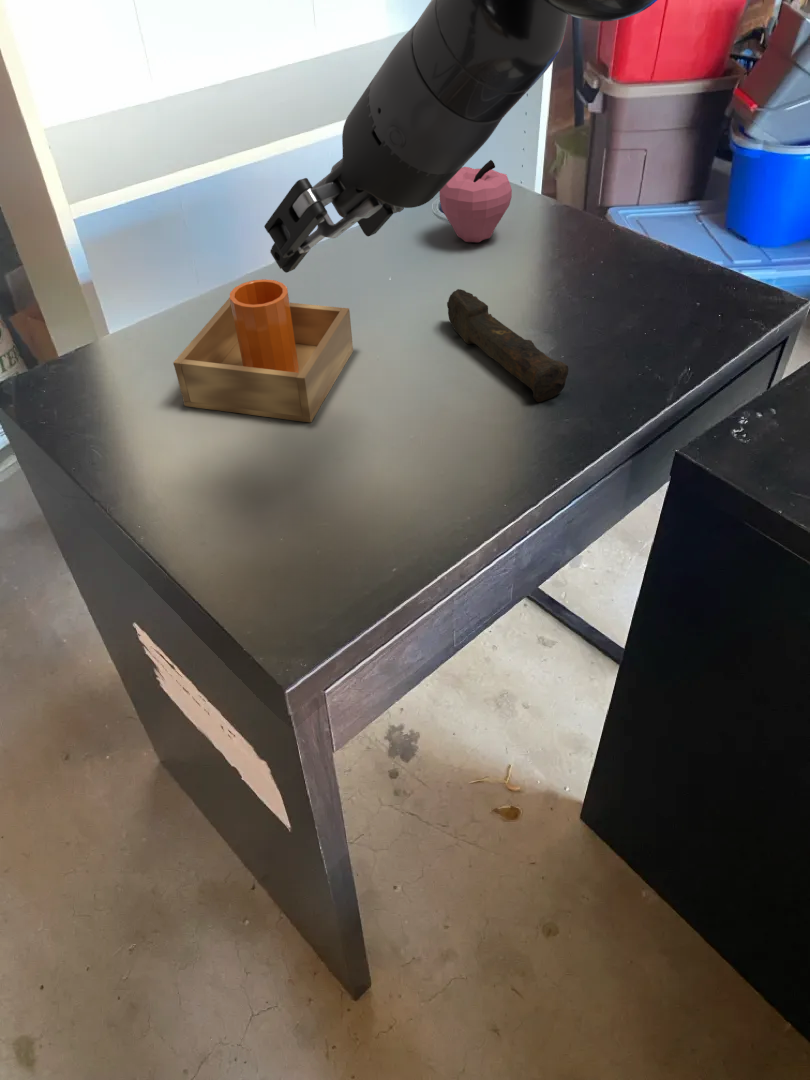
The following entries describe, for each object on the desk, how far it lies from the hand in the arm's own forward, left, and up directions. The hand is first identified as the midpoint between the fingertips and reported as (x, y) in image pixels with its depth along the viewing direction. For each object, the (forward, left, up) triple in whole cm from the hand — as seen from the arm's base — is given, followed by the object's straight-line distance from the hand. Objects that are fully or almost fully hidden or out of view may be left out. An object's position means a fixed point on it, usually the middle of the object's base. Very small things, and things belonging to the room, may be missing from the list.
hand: (323, 242), depth 65 cm
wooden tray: (-11, +9, -19) cm, 24 cm away
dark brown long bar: (+11, +17, -19) cm, 28 cm away
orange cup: (-11, +9, -19) cm, 23 cm away
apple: (+3, +46, -19) cm, 50 cm away
